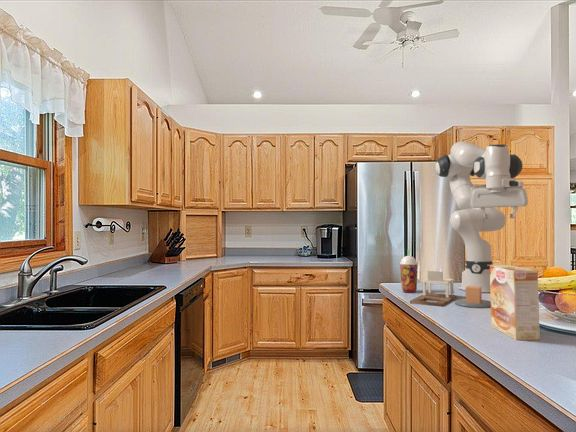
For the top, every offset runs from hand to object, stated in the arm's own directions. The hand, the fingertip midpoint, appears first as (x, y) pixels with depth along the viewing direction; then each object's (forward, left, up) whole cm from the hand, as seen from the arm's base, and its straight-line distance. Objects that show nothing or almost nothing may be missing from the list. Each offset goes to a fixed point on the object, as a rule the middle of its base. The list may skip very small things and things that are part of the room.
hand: (499, 218), depth 164 cm
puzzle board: (+5, -25, -34) cm, 43 cm away
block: (+6, -9, -33) cm, 35 cm away
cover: (-1, -25, -33) cm, 41 cm away
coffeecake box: (+44, +10, -34) cm, 57 cm away
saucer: (+6, -9, -34) cm, 36 cm away
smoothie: (-10, -41, -34) cm, 54 cm away
